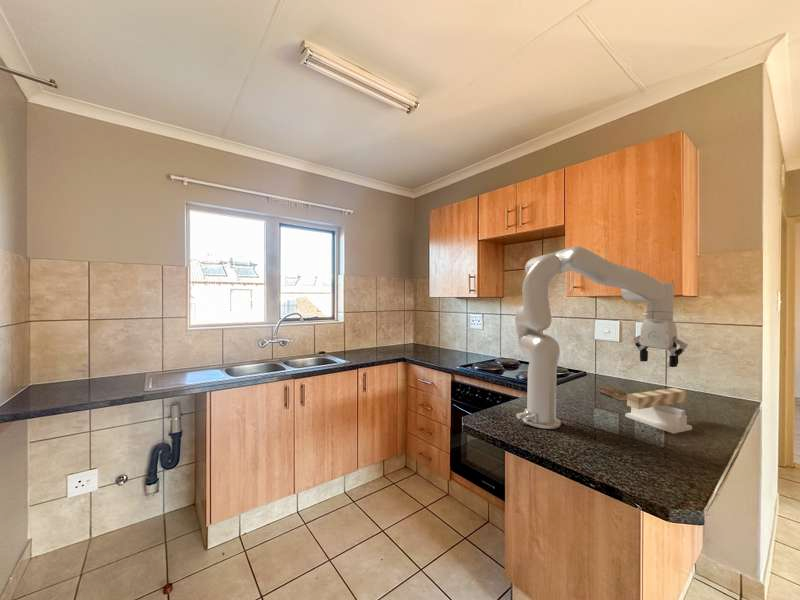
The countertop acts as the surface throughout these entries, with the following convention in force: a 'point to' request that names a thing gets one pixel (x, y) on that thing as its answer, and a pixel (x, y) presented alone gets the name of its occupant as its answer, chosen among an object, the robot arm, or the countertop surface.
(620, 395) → the wooden fragment
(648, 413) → the ridge stand
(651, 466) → the countertop surface
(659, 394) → the birch rod
